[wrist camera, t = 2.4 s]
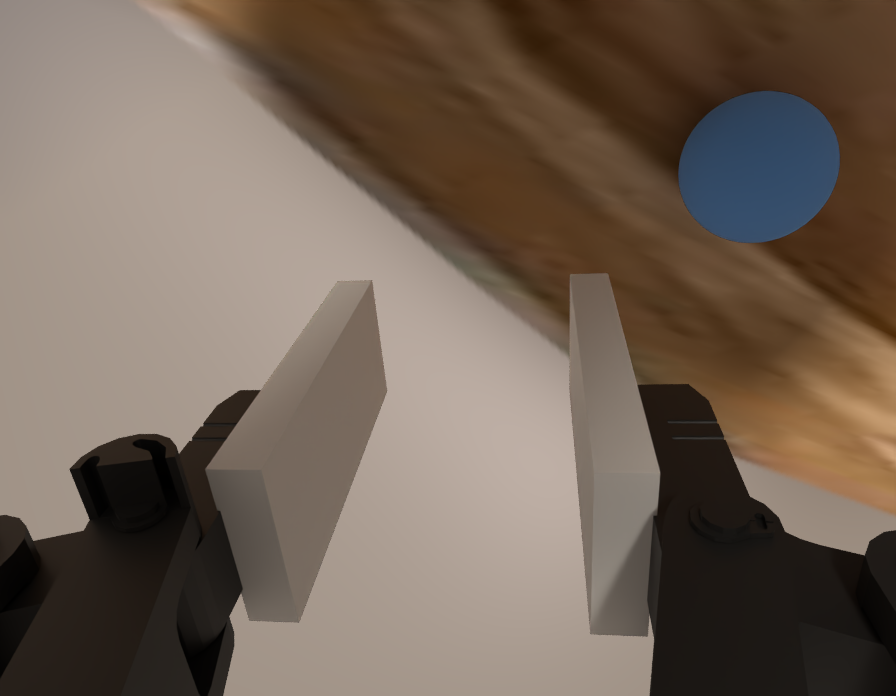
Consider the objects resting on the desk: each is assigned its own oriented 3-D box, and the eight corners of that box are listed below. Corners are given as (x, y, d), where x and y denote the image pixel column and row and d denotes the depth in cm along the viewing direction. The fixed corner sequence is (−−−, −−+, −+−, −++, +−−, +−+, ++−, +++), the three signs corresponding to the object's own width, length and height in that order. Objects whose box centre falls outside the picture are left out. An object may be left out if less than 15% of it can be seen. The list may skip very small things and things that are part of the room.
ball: (645, 129, 28) (668, 156, 23) (779, 54, 26) (835, 67, 21) (698, 241, 30) (729, 289, 25) (827, 179, 28) (888, 216, 23)
